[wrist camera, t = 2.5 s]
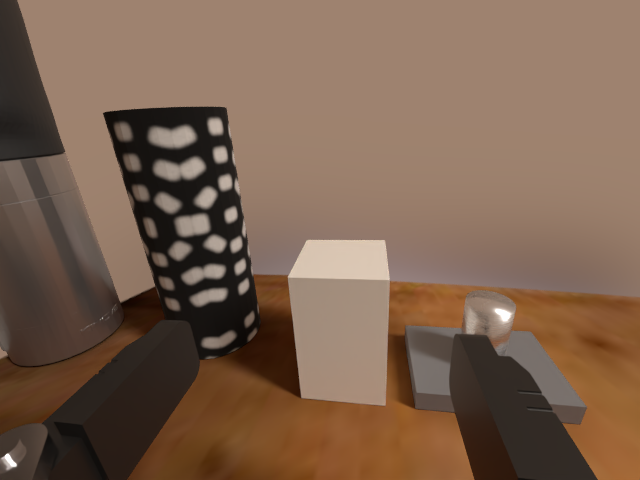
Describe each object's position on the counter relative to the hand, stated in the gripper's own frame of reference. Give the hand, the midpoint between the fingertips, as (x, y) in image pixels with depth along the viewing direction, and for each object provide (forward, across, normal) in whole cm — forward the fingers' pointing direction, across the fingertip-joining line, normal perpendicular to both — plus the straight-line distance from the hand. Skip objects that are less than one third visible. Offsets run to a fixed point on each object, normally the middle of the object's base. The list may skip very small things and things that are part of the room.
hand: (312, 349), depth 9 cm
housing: (+12, 0, +12) cm, 17 cm away
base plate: (+12, -10, +12) cm, 20 cm away
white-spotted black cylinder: (+15, +13, +12) cm, 24 cm away
